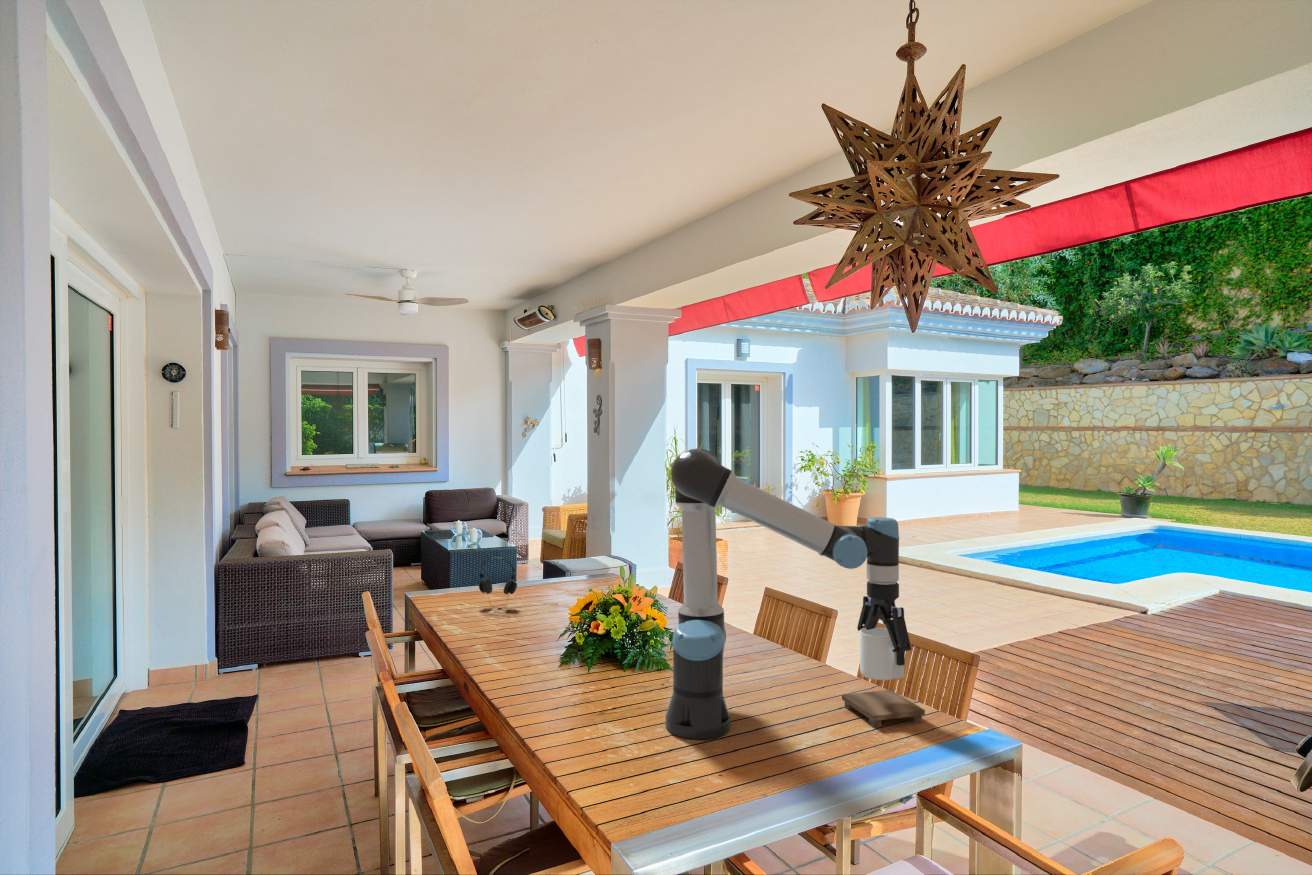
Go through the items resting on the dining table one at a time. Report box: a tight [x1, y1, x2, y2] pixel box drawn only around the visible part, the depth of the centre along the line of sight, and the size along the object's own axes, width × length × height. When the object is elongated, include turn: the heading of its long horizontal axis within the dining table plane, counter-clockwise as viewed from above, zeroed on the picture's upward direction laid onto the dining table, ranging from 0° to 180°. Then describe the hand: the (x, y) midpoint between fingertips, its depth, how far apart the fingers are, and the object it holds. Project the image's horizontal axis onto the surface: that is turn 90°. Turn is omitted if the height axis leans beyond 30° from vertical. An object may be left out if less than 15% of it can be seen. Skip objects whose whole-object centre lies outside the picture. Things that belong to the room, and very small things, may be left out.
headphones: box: [478, 556, 518, 614], centre depth 277 cm, size 15×11×20 cm
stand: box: [841, 689, 926, 729], centre depth 175 cm, size 14×14×3 cm
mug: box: [859, 626, 894, 681], centre depth 175 cm, size 9×12×11 cm
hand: (882, 669), depth 175 cm, fingers closed on mug, 12 cm apart
